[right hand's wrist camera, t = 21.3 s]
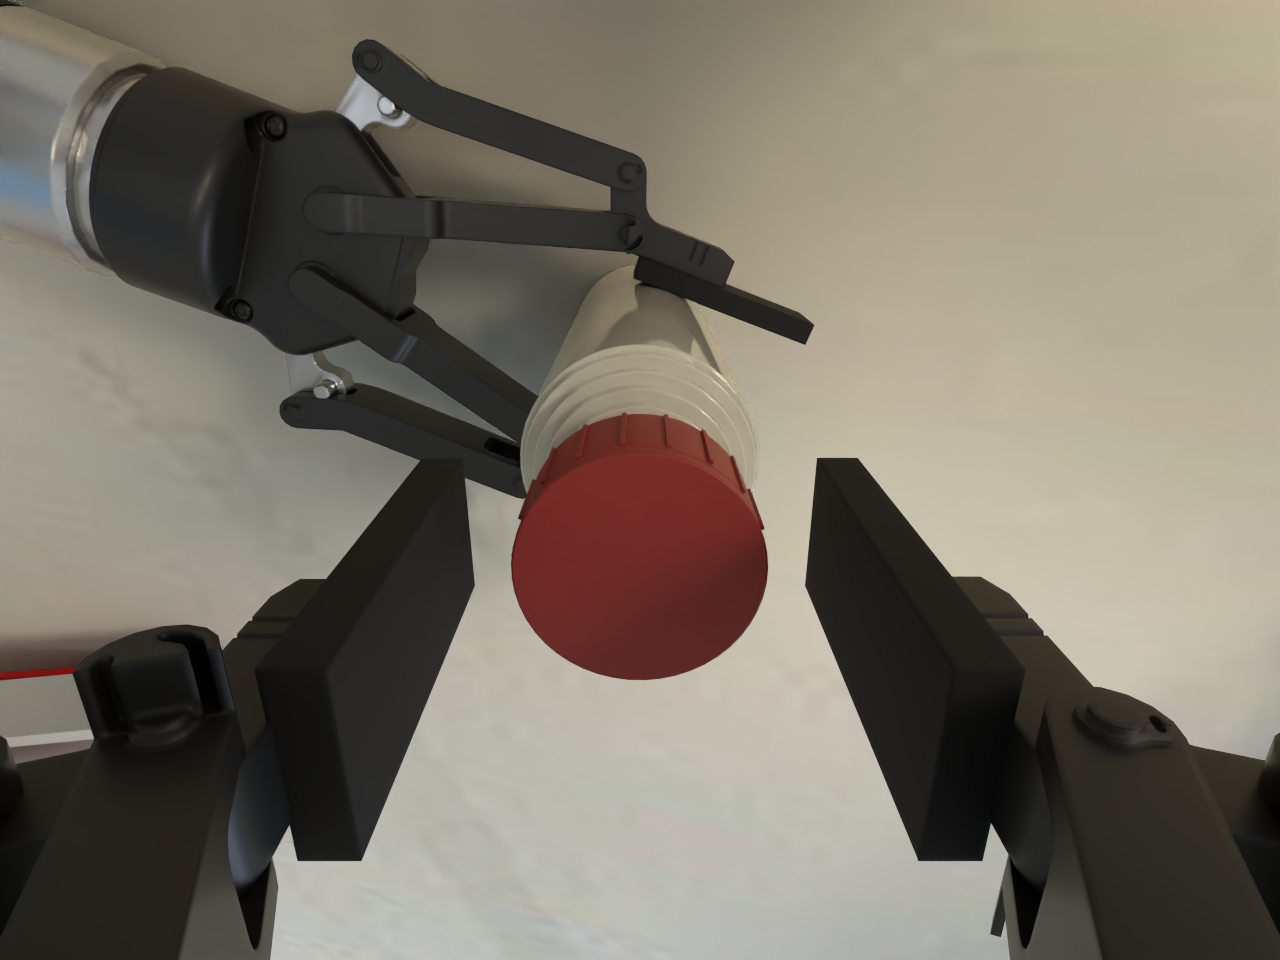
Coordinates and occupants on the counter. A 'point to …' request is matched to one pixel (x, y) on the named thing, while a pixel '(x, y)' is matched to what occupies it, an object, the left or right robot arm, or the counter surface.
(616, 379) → the bottle
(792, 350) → the counter surface
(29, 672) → the toy
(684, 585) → the cap
